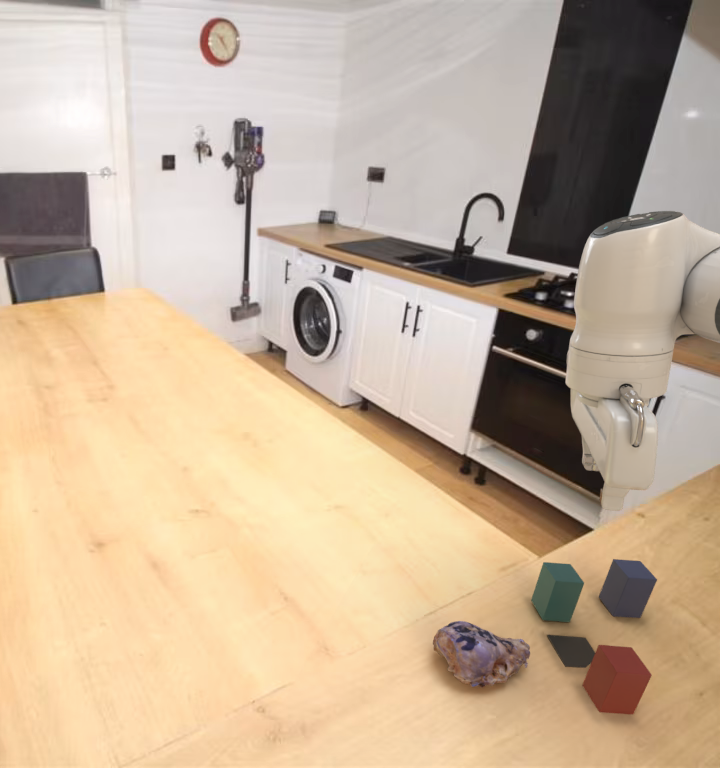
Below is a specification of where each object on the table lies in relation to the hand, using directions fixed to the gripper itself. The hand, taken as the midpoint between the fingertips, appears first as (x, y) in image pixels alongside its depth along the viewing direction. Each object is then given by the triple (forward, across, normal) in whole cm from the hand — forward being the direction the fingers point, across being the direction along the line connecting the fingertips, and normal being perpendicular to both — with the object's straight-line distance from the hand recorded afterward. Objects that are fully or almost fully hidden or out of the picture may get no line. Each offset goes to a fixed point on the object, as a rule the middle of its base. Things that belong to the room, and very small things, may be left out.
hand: (600, 486), depth 62 cm
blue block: (+24, +11, -7) cm, 27 cm away
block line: (+24, 0, 0) cm, 24 cm away
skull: (+23, -8, +12) cm, 27 cm away
